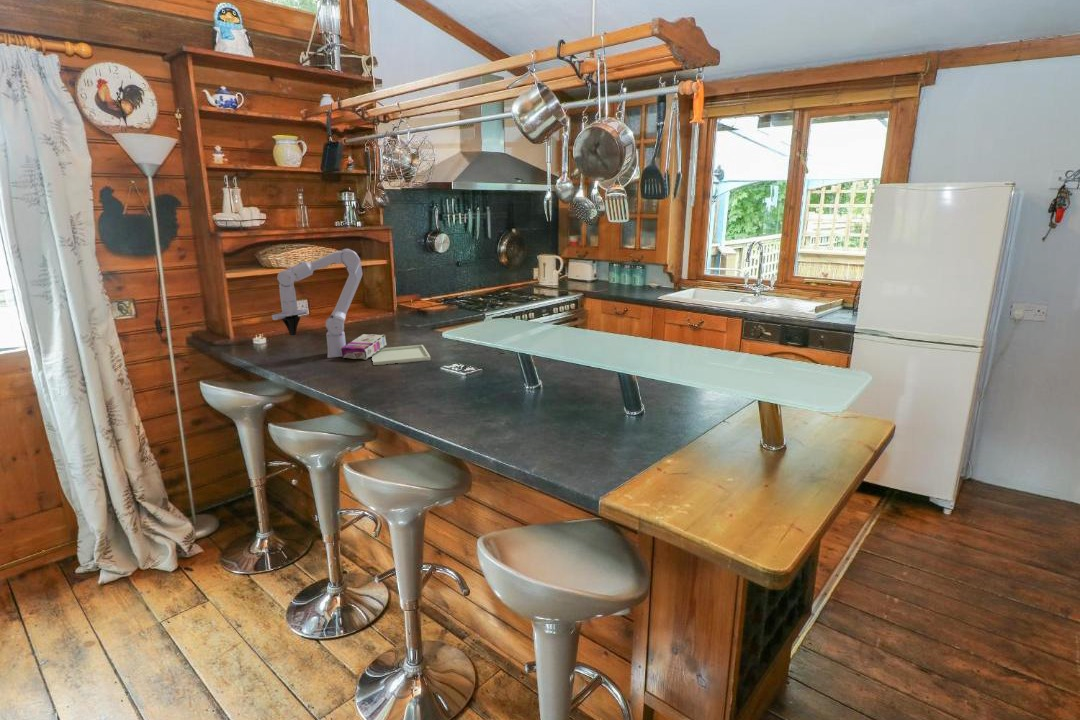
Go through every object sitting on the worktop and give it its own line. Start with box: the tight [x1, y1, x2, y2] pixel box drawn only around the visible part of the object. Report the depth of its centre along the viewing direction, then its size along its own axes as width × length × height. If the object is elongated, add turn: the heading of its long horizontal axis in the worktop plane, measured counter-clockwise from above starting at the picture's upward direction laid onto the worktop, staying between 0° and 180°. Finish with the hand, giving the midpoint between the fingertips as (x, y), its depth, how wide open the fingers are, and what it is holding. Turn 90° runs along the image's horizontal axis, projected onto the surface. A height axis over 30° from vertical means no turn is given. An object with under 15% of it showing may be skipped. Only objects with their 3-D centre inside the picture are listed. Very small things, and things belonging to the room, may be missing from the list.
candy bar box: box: [341, 333, 388, 360], centre depth 243 cm, size 11×5×16 cm
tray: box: [370, 344, 432, 366], centre depth 241 cm, size 22×22×2 cm
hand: (292, 334), depth 235 cm, fingers closed
